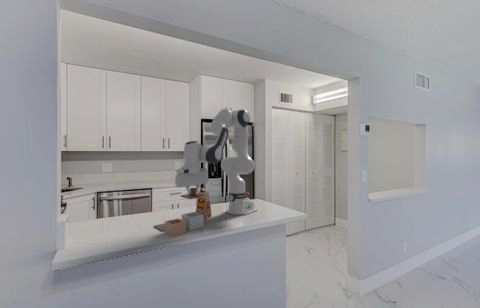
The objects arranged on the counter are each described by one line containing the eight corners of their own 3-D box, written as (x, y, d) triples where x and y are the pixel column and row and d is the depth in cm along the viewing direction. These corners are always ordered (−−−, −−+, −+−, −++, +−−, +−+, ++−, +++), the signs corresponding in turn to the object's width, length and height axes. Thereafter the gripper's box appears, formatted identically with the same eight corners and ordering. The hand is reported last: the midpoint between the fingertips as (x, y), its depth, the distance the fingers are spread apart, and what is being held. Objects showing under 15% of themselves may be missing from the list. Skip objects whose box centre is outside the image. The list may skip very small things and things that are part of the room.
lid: (195, 193, 144) (195, 186, 144) (205, 196, 137) (204, 188, 137) (180, 196, 138) (180, 188, 137) (190, 199, 130) (189, 190, 130)
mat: (171, 222, 145) (171, 221, 145) (180, 227, 137) (180, 226, 137) (153, 226, 137) (153, 225, 137) (162, 231, 129) (162, 230, 129)
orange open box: (178, 228, 133) (178, 218, 133) (185, 232, 128) (185, 221, 127) (164, 232, 128) (164, 221, 128) (171, 236, 122) (171, 224, 122)
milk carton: (207, 219, 150) (207, 188, 150) (193, 219, 152) (193, 188, 152) (212, 215, 159) (212, 186, 159) (199, 215, 161) (199, 185, 161)
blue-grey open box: (195, 223, 144) (194, 211, 144) (203, 226, 137) (203, 214, 137) (181, 226, 138) (181, 214, 137) (189, 230, 131) (189, 217, 131)
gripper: (204, 167, 146) (204, 189, 147) (173, 170, 132) (174, 194, 133) (210, 168, 141) (210, 191, 142) (179, 171, 127) (179, 196, 128)
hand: (192, 193), depth 137 cm, fingers closed on lid, 3 cm apart
